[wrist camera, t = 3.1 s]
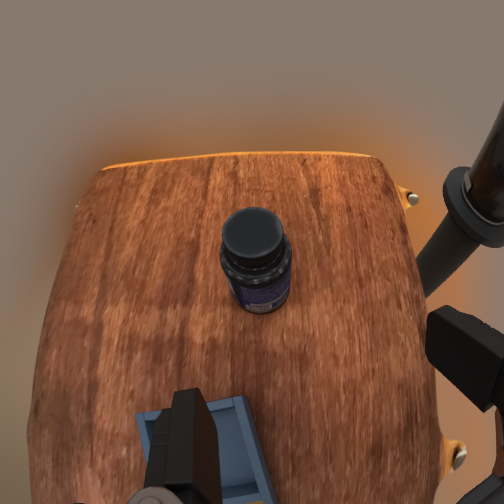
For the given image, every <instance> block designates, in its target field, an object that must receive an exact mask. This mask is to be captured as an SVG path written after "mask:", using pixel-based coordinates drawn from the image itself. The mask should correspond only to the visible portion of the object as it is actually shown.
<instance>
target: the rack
mask: <svg viewBox="0 0 504 504" xmlns="http://www.w3.org/2000/svg"><path fill="white" fill-rule="evenodd" d="M206 404H207V406H208V408H209V410H210V412H211V415H212V417H213V419H214V421H215V424H216V428H217V432H218V443H219V459H220V473H221V486H222V498H223V504H279V503H278V500H277V497H276V493H275V490H274V487H273V484H272V481H271V477H270V474H269V471H268V468H267V464H266V461H265V458H264V454H263V451H262V447H261V444H260V441H259V437H258V434H257V430H256V427H255V423H254V419H253V416H252V412H251V409H250V405H249V401H248V398H247V397H245V396H242V395H240V396H236V397H232V398H227V399H222V400H217V401H212V402H207V403H206ZM161 411H162V410H158V411H151V412H144V413H136V414H135V415H136V420H137V425H138V430H139V434H140V439H141V443H142V447H143V451H144V455H145V459H146V463H148V456H149V450H150V447H151V439H152V436H153V434H152V433H153V427H154V422H155V420H156V418H157V417H158V415H159V414H160V412H161Z"/></svg>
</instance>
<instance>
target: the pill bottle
mask: <svg viewBox="0 0 504 504" xmlns="http://www.w3.org/2000/svg"><path fill="white" fill-rule="evenodd" d="M222 240H223V242H222V245H221V249H220V261H221V265H222V268H223V270H224V273H225V275H226V278H227V281H228V283H229V286H230V289H231V291H232V294H233V297H234V299H235V300H236V302H237V303H238V304H239V305H240V306H241V307H242V308H243V309H245V310H246V311H248V312H251V313H256V314H265V313H270V312H273V311H274V310H276V309H278V308H279V307H280V306H281V305H282V304H283V303H284V302H285V301H286V299H287V297H288V294H289V290H290V274H291V257H292V249H291V246H290V243H289V239H288V238H287V236H286V235H285V234H284V233H283V226H282V223H281V221H280V219H279V218H278V217H277V216H276V215H275V214H274V213H273V212H271V211H269V210H267V209H264V208H260V207H249V208H245V209H241V210H239V211H237V212H235V213H234V214H232V215H231V216H230V217H229V218H228V219H227V221H226V222H225V224H224V226H223V229H222Z"/></svg>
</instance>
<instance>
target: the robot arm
mask: <svg viewBox="0 0 504 504" xmlns="http://www.w3.org/2000/svg"><path fill="white" fill-rule="evenodd" d="M461 194H462V197H463V199H464V201H465V203H466V205H467V206H468V208H469V209H470V210H471V212H472V213H473V214H474V215H475V216H476V217H477V218H478V219H480V220H481V221H482V222H484V223H486V224H488V225H490V226H495V227H498V226H501V225H503V224H504V101H503V104H502V106H501V109H500V111H499V113H498V116H497V118H496V120H495V122H494V124H493V126H492V129H491V131H490V133H489V135H488V137H487V139H486V141H485V143H484V145H483V147H482V149H481V150H480V152H479V154H478V156H477V158H476V160H475V162H474V164H473V165H472V167H471V169H470V171H469V172H468V171H466V173H465V175H464V180H463V182H462V184H461ZM425 353H426V356H427V359H428V360H429V362H430V363H431V364H432V365H433V366H434V367H435V368H436V369H437V370H438V371H440V372H441V373H442V374H443V375H444V376H445V377H446V378H447V379H448V380H449V381H450V382H451V383H452V384H453V385H455V386H456V387H457V388H458V389H459V390H460V391H461V392H462V393H463V394H464V395H465V396H466V397H467V398H468V399H469V400H471V402H473V403H474V404H475V405H476V406H477V407H478V408H479V409H480V410H481V411H482V412H483V413H484V412H486V411H487V410H488V409H490V408H491V407H492V406H493V405H495V406H496V407H497V409H496V412H495V422H496V449H497V450H496V453H497V455H496V461H495V465H494V467H493V470H492V474H491V475H490V476H489V477H488V478H486V479H485V480H484V481H483V482H481V483H480V484H479V485H477V486H476V487H475V488H473V489H472V490H471V491H469V492H468V493H467V494H465V495H464V496H463V497H462V498H461V499H460V500H459V501H458V502H457V503H456V504H504V334H502V333H500V332H499V331H497V330H496V329H494V328H491V327H490V326H489V325H487V324H486V323H483V321H481V320H480V319H478V318H476V317H475V316H473V315H469V314H465V313H462V312H459V311H457V310H456V309H454V308H453V307H451V306H449V305H444V306H442V307H440V308H438V309H436V310H434V311H432V312H430V313H429V314H428V316H427V327H426V342H425ZM152 434H153V436H152V439H151V447H150V450H149V456H148V463H147V469H146V476H145V483H144V487H143V489H142V490H140V491H138V492H136V493H135V494H134V495H133V496H132V497H131V498H130V500H129V501H128V504H223V498H222V486H221V473H220V459H219V443H218V432H217V428H216V424H215V421H214V419H213V417H212V415H211V412H210V410H209V408H208V406H207V404H206V402H205V400H204V398H203V396H202V393H201V391H200V390H199V388H192V389H186V390H181V391H175V392H174V395H173V402H172V408H167V409H163V410H162V411H161V412H160V414H159V415H158V417H157V418H156V420H155V422H154V427H153V433H152ZM74 504H84V503H74Z"/></svg>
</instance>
